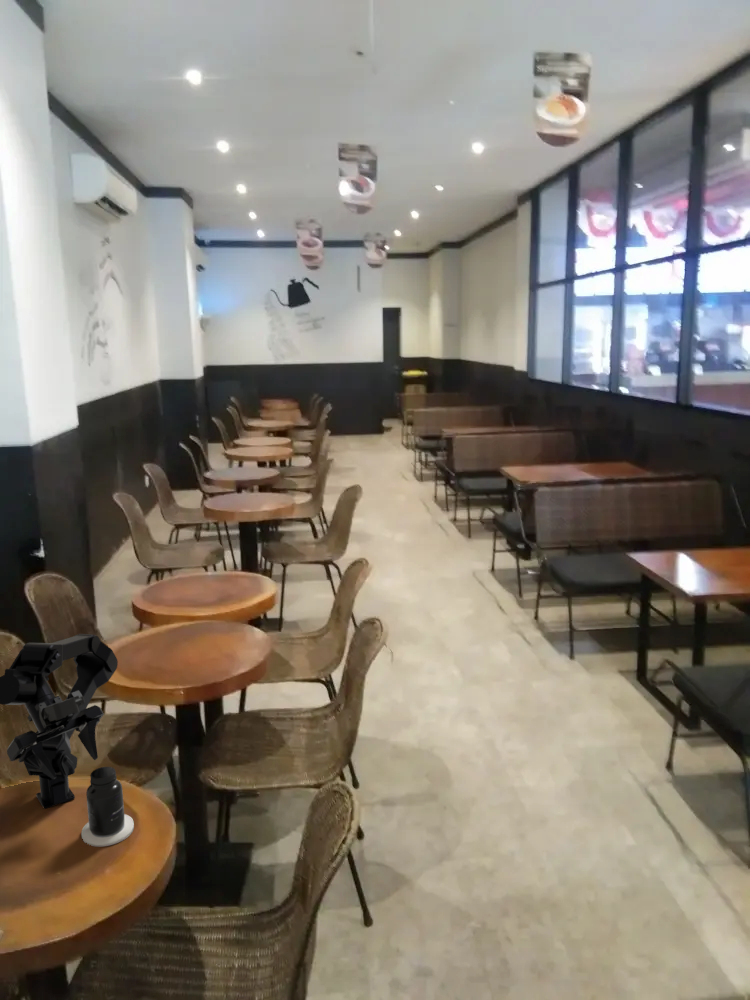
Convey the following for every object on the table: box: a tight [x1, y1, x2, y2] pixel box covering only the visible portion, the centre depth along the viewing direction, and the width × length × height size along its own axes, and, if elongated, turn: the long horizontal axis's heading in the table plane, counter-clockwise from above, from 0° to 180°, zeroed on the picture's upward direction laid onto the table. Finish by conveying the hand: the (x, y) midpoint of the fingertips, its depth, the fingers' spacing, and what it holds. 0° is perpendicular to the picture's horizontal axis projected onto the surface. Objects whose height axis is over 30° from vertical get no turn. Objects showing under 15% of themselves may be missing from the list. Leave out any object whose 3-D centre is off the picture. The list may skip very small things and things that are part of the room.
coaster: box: [81, 813, 135, 848], centre depth 157 cm, size 10×10×1 cm
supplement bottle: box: [86, 766, 125, 836], centre depth 156 cm, size 7×7×12 cm
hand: (76, 768), depth 155 cm, fingers open, 9 cm apart
